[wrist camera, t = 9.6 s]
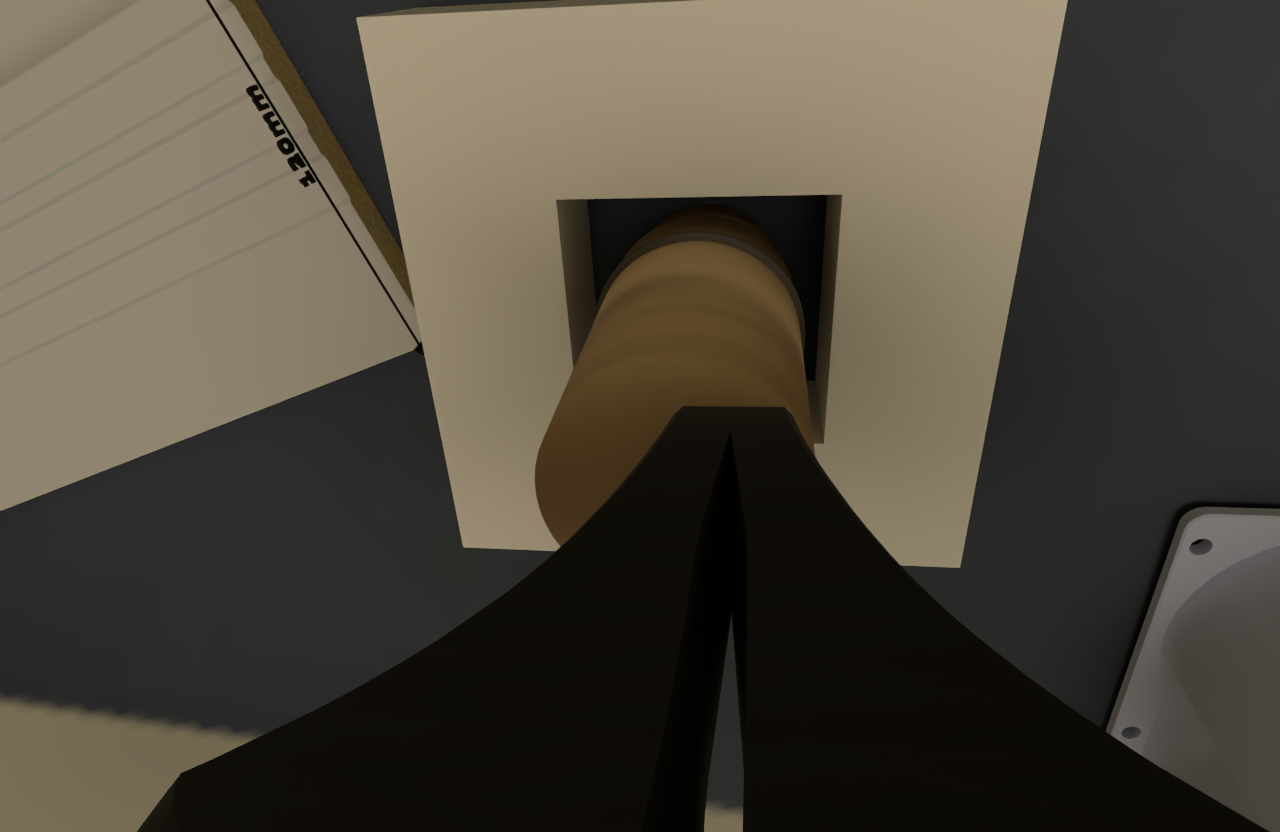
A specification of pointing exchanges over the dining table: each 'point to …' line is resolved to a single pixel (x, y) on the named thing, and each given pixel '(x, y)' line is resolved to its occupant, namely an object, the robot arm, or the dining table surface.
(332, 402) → the dining table surface
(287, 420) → the dining table surface
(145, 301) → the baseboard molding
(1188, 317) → the dining table surface
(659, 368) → the oak peg
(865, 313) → the socket board
